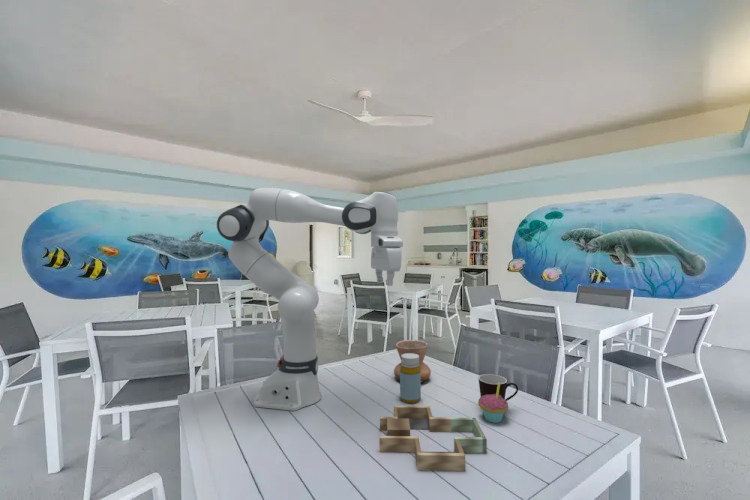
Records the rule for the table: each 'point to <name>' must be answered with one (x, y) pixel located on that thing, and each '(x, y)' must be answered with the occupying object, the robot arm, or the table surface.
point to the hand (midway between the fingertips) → (384, 284)
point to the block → (398, 427)
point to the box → (424, 420)
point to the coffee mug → (494, 385)
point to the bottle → (410, 378)
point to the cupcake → (493, 406)
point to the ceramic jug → (416, 348)
